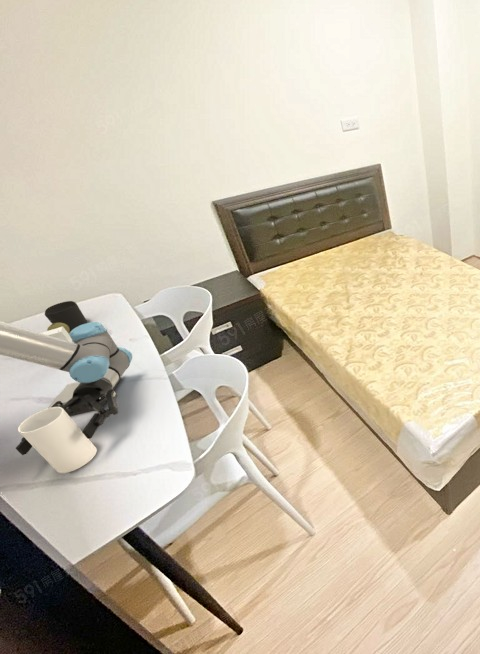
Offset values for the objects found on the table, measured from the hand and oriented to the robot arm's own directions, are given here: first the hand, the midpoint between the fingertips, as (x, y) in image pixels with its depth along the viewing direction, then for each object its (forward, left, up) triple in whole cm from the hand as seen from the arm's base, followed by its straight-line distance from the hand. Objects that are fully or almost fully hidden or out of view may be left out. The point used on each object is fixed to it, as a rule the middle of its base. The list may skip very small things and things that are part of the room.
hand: (54, 443), depth 102 cm
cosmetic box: (-27, +57, -9) cm, 64 cm away
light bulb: (-32, +67, -9) cm, 75 cm away
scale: (-10, +29, -9) cm, 32 cm away
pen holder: (-37, +81, -9) cm, 89 cm away
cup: (0, +2, -9) cm, 9 cm away
